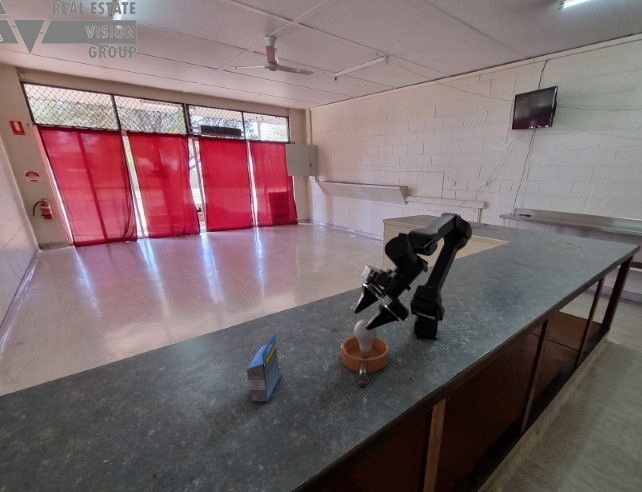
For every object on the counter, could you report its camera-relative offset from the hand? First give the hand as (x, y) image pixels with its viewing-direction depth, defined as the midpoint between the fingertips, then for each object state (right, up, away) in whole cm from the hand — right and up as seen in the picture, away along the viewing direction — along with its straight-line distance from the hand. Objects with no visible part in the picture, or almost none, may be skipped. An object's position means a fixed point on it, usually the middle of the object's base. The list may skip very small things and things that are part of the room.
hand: (360, 320), depth 79 cm
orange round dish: (+1, -11, +5) cm, 12 cm away
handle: (+1, -12, -6) cm, 14 cm away
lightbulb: (+1, -10, +5) cm, 12 cm away
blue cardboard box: (-21, -15, -7) cm, 27 cm away
